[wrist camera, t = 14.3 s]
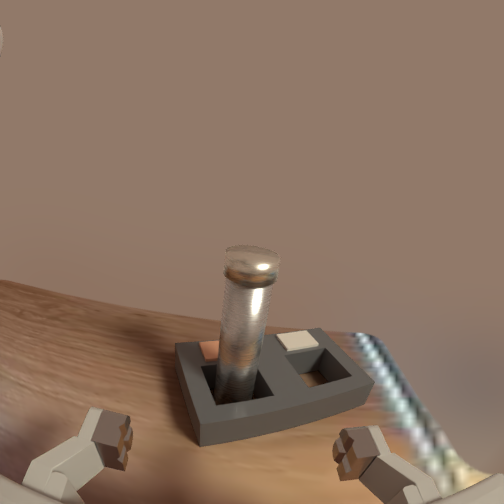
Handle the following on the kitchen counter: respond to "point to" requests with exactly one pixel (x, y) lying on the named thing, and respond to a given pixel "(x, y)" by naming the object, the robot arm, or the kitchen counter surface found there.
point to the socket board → (271, 386)
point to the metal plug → (243, 320)
